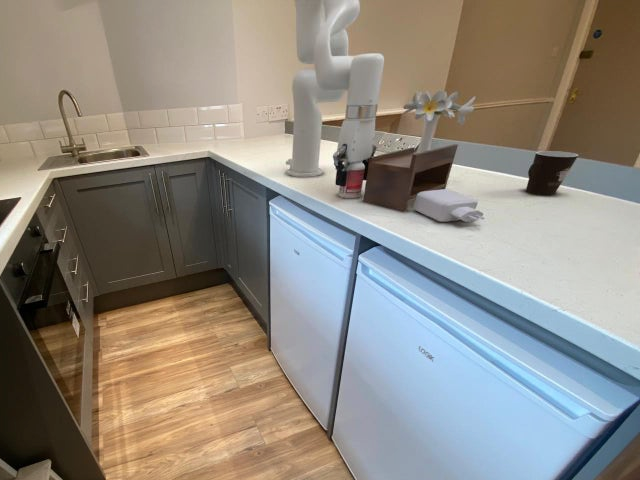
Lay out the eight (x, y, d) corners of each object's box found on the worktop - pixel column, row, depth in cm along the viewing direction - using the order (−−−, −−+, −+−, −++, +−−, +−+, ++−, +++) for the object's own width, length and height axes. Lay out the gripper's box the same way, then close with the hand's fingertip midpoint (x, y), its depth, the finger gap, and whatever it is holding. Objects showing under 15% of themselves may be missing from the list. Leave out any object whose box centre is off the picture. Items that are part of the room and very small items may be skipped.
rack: (362, 201, 92) (371, 149, 85) (403, 188, 102) (413, 140, 95) (403, 211, 84) (416, 154, 77) (443, 195, 94) (458, 144, 87)
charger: (457, 232, 72) (412, 211, 84) (494, 227, 73) (444, 207, 86) (464, 210, 69) (417, 191, 82) (502, 206, 71) (450, 188, 83)
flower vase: (457, 185, 102) (487, 88, 89) (396, 187, 103) (417, 91, 89) (436, 176, 113) (460, 88, 100) (381, 177, 114) (397, 90, 100)
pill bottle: (364, 195, 97) (371, 154, 91) (353, 200, 94) (359, 157, 88) (345, 191, 101) (350, 151, 95) (334, 196, 98) (338, 155, 92)
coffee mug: (546, 188, 97) (563, 150, 91) (567, 196, 90) (587, 156, 84) (502, 188, 98) (516, 151, 93) (520, 197, 91) (536, 157, 85)
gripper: (368, 111, 93) (359, 175, 102) (326, 115, 84) (320, 185, 94) (393, 111, 88) (381, 179, 97) (351, 116, 79) (342, 190, 88)
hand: (351, 182), depth 95 cm, fingers open, 9 cm apart
